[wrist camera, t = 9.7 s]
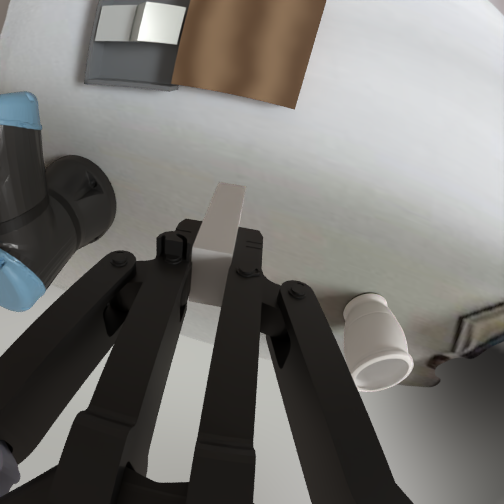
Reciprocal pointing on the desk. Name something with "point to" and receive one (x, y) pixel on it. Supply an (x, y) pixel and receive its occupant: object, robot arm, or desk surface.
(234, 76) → the board
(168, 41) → the tile
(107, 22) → the light grey block
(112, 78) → the tray
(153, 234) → the desk surface
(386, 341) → the jar
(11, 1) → the desk surface
